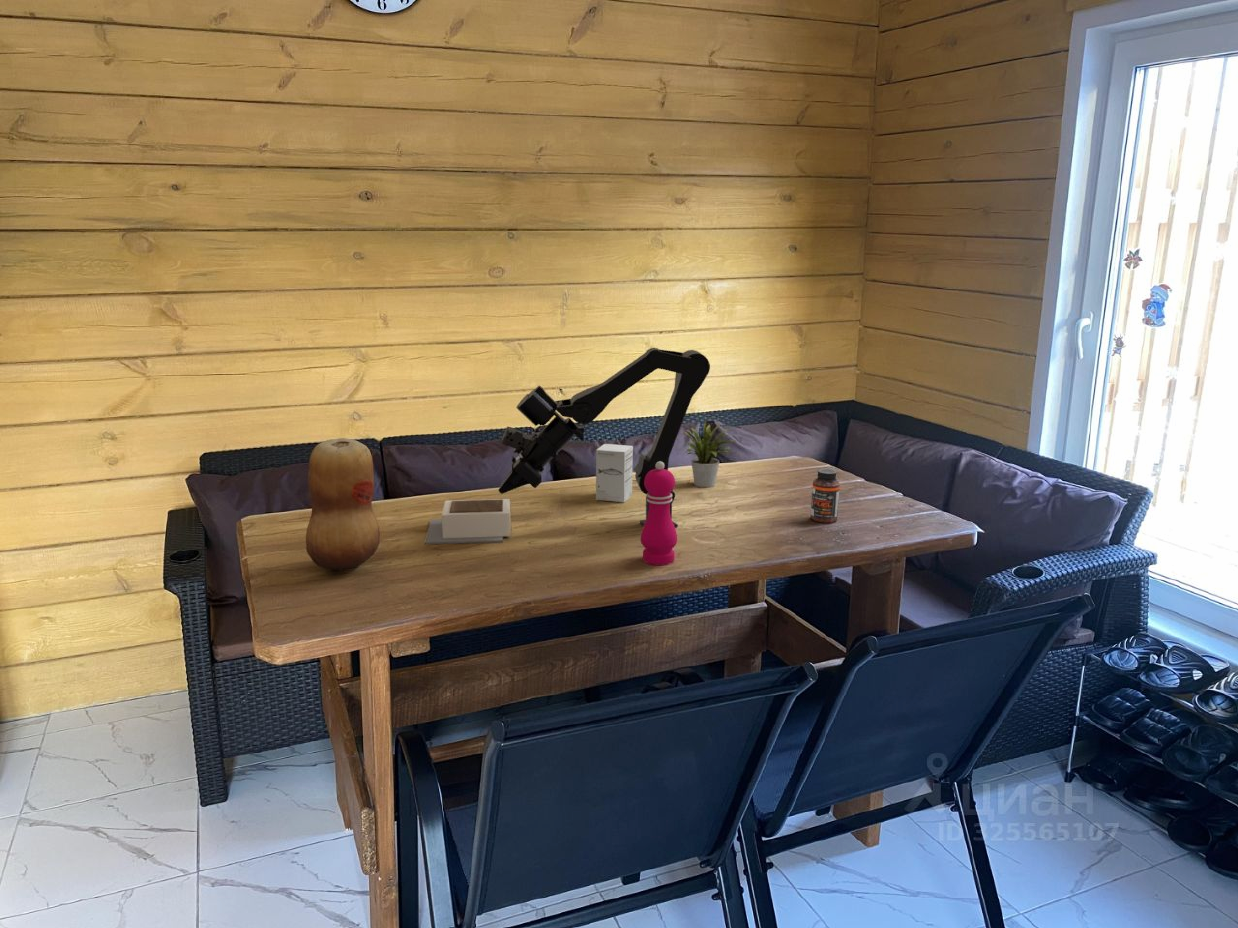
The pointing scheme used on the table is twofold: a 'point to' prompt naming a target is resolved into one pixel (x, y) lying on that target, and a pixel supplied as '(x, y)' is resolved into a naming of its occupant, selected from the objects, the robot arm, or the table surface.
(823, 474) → the supplement bottle
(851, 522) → the table surface
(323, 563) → the butternut squash
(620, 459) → the supplement box
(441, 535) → the mat
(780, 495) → the table surface
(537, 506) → the table surface
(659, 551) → the pepper mill
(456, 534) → the picture frame
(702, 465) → the house plant
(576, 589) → the table surface
